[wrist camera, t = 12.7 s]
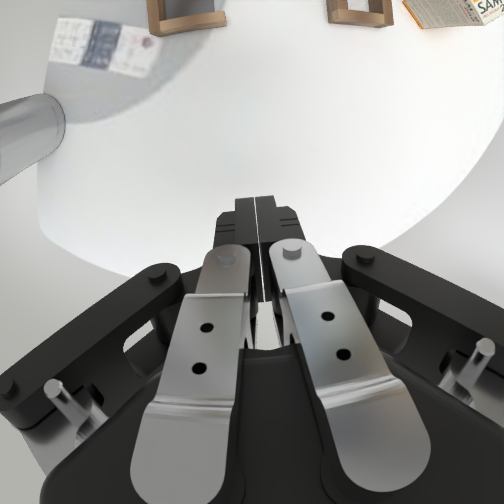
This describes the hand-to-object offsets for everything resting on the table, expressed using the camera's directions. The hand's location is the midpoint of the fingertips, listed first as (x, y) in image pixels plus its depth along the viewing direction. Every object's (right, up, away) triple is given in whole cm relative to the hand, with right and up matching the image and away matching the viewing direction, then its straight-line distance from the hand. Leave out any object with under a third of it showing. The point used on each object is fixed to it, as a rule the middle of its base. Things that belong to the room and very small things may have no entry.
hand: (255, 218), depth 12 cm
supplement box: (+23, +31, +13) cm, 41 cm away
